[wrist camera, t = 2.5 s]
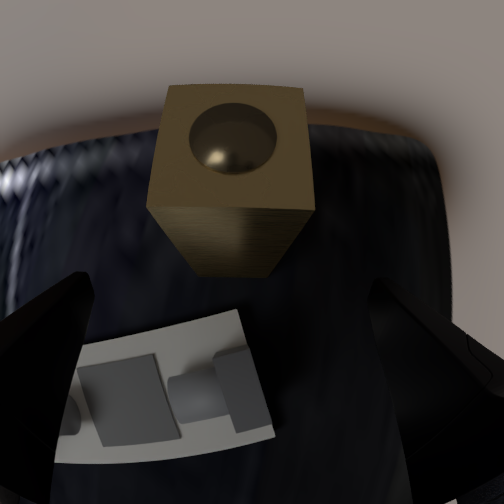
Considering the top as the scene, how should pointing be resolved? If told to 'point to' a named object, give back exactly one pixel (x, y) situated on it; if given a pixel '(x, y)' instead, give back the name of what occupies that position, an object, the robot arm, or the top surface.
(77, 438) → the plate with raised blocks
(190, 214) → the gold tall square block
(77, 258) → the top surface
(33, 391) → the robot arm
